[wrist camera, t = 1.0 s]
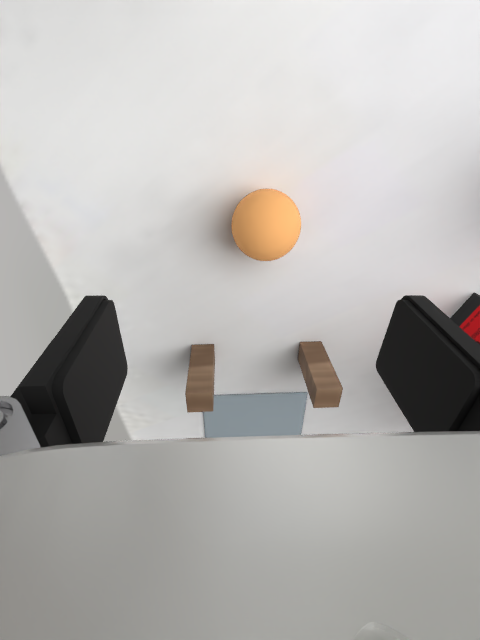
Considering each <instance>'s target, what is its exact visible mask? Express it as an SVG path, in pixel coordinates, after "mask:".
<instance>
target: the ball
mask: <svg viewBox="0 0 480 640" xmlns="http://www.w3.org/2000/svg"><path fill="white" fill-rule="evenodd" d="M231 227H232V234H233V238H234V240H235V242H236V244H237V246H238V247H239V249H240V250H241V251H242V252H243V253H244V254H246V255H247V256H249V257H251V258H253V259H256V260H260V261H271V260H275V259H278V258H280V257H282V256H284V255H286V254H287V253H288V252H289V251H290V250H291V249H292V248H293V247H294V245H295V243H296V242H297V240H298V237H299V234H300V230H301V218H300V214H299V211H298V209H297V207H296V205H295V203H294V202H293V201H292V200H291V199H290V198H289V197H288V196H287V195H286V194H284V193H282V192H280V191H278V190H274V189H260V190H257V191H254V192H252V193H250V194H248V195H247V196H245V197H244V198H243V199H242V200H241V201H240V202H239V204H238V205H237V207H236V209H235V211H234V214H233V217H232V225H231Z"/></svg>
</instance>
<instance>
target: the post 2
mask: <svg viewBox="0 0 480 640" xmlns="http://www.w3.org/2000/svg"><path fill="white" fill-rule="evenodd" d="M298 361H299V364H300V367H301V371H302V374H303V377H304V380H305V383H306V386H307V389H308V392H309V395H310V398H311V401H312V404H313V408H325V407H339V403H340V398H341V394H342V390H343V388H342V385H341V383H340V381H339V379H338V377H337V375H336V372H335V370H334V368H333V366H332V364H331V362H330V359H329V357H328V355H327V353H326V351H325V348H324V346H323V344H322V342H321V341H319V342H300V345H299V353H298Z"/></svg>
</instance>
